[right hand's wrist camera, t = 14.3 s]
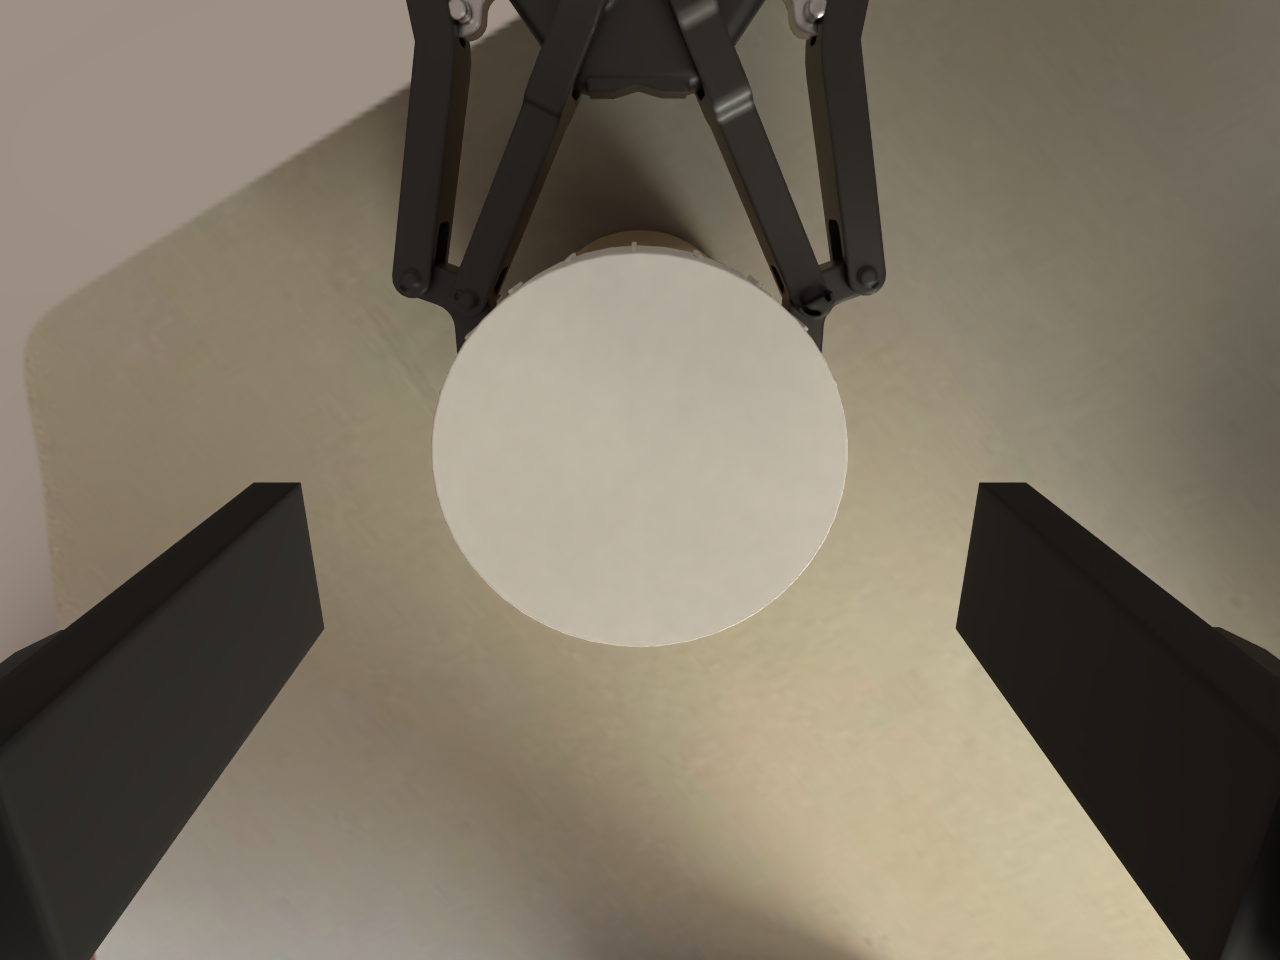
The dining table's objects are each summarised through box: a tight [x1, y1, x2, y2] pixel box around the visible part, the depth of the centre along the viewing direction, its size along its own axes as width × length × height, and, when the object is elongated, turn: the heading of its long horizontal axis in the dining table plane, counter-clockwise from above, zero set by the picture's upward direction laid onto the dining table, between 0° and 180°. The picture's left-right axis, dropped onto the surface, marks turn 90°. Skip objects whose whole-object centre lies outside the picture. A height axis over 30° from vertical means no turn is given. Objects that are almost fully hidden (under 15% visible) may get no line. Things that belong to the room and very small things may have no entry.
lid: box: [431, 242, 848, 647], centre depth 19 cm, size 10×10×2 cm
